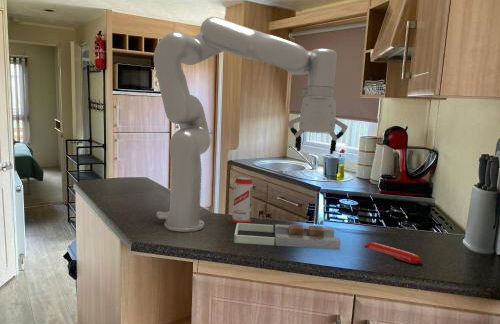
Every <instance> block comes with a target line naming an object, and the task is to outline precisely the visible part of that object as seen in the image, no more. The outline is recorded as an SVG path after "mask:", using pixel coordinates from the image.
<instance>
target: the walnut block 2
mask: <svg viewBox="0 0 500 324" xmlns="http://www.w3.org/2000/svg"><path fill="white" fill-rule="evenodd" d="M308 226H309V234H308V236H312V237H324V229H323V227H324V226H318V225H308Z"/></svg>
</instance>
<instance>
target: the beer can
mask: <svg viewBox="0 0 500 324" xmlns="http://www.w3.org/2000/svg"><path fill="white" fill-rule="evenodd" d="M253 186H254V183H253V180H252V177H251V176H245V175H243V176H241V175H239V176H236V177H235V181H234V183H233V203H232V217H231V221H232V223H233V224H235V225H237V223H247V224H251V221H252V220H251V219H252V206H253V205H252V204H253V189H254V188H253Z"/></svg>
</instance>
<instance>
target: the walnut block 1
mask: <svg viewBox="0 0 500 324" xmlns="http://www.w3.org/2000/svg"><path fill="white" fill-rule="evenodd" d="M303 226H304V225H303V224H292V223H290V224H289V234H288V235H297V236H303V234H304V228H303Z"/></svg>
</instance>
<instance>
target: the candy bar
mask: <svg viewBox="0 0 500 324" xmlns="http://www.w3.org/2000/svg"><path fill="white" fill-rule="evenodd" d="M364 247H365V248H367V249H369V250H373V251H376V252H379V253H382V254H386V255H389V256H391V257H392V258H393V259H396V260H398V261H403V262H404V263H405V262H406V263H409V264H419V263H420V262H422V260H421V258H420V256H419V255H418V254H415V253H412V252H410V251H406V250H402V249H398V248H395V247H391V246H388V245H386V244H380V243H377V242H368V243H367V244H365V245H364Z"/></svg>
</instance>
